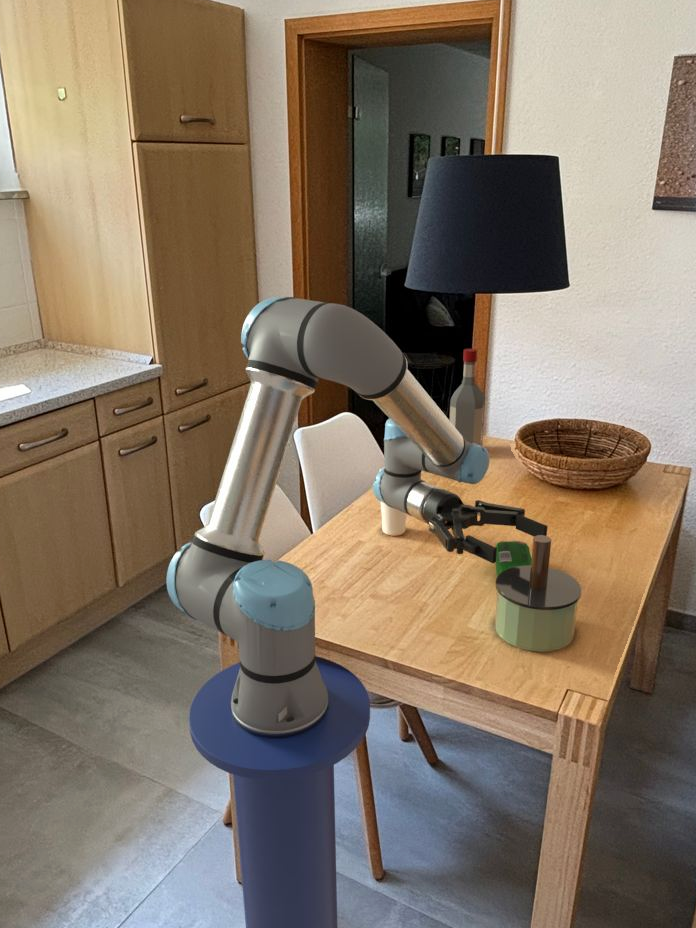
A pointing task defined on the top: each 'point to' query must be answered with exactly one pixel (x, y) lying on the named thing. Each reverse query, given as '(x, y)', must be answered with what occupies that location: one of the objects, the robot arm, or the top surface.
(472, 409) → the liquor
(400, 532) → the drinking glass
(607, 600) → the top surface
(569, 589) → the lid
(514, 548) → the snack package
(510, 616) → the pot
